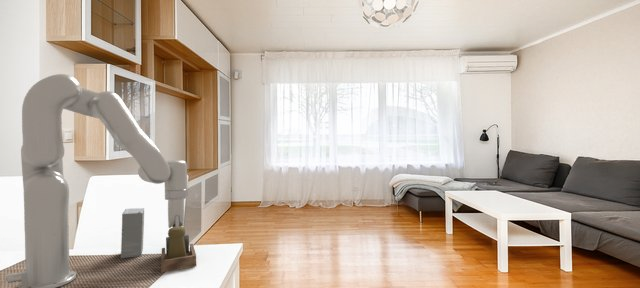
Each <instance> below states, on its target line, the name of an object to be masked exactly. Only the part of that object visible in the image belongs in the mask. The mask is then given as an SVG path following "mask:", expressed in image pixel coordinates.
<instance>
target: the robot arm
mask: <svg viewBox="0 0 640 288" xmlns="http://www.w3.org/2000/svg"><path fill="white" fill-rule="evenodd" d="M63 110H67V111H69V112H73V113H76V114H80V115H83V116H87V117H90V118H96V119H99V121H100V122H101V123H102V124H103V126H104V127H105V128H106V130H107V132H108V133H109V134H110V136H111V138H112V139H113V140H114V142H115V143H116V144H117V145H118V146H119V147H120V148H121V149H123V150H124V151H126V152H127V153H129V154H130V155H131V156H132V158H134V160H135V161H136V162H137V164H138V165H139V167H138V170H137V174H138V177H139V178H140V179H141V180H143V181H144V182H147V183H151V184H155V185H159V184H163V183H164V200H166V201H167V221H168V222H167V223H168V226H167V227H168V228H169V229H171V228H173V227H183V226H184V223H185V221H184V220H185V199H188V198H189V196H188V165H187V161H186V160H182V159H176V160H166V158H165V157H164V156H163V153H162V152H161V150H160V149H159V148H158V147H157V146H156V144H155V143H154V142H153V140H151V138H149V136H148V135H147V133H145V132H144V130H143V129H142V128H141V127H140V124H139V123H138V122H137V120H136V119H135V117H134V116H133V114H132V113H131V111H130V110H129V108H128V106H127V105H126V104H125V102H124V101H123V99H122V97H121V96H119V94H117V93H115V92H113V91H110V90H109V91H108V90H105V91H100V92H98V91H97V92H96V91H94V90H90V89H87V88H84V87H82V85H81V84H80V82H79V81H78V79H76V77H73V76H72V75H69V74H65V73H64V74H63V73H57V74H52V75H50V76H47V77H45V78H42V79H41V80H39V81H37V82H35V83H34V84H33V85H32V86H31V87H30V88H29V90H28V91H27V93H26V94H25V96H24V98H23V102H22V107H21V130H22V146H21V148H20V156H21V157H20V158H21V159H20V161H21V174H22V184H23V185H22V187H23V208H24V212H23V215H24V216H23V217H24V218H23V219H24V220H23V221H24V223H23V225H24V255H25V257H24V258H25V259H24V260H25V261H24V262H25V270H22V271H20V272H13V273H7V274H6V275H5V281H6V282H7V283H8V284H9V283H16V282H19V284H18V286H17V287H18V288H59V287H62V286H64V285H67V284H69V283H70V282H72V281H74V280H75V279H76V278H77V272H76V271H74V270H71V269H70V234H69V233H70V231H69V230H70V229H69V228H70V227H69V205H70V204H69V203H70V187H69V184H68V181H67V180H66V179H65V176H64V167H63V166H64V165H63V164H64V163H63V157H64V156H65V146H64V141H63V128H62V124H63V123H62V120H63V119H62V116H63V115H62V114H63Z"/></svg>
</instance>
